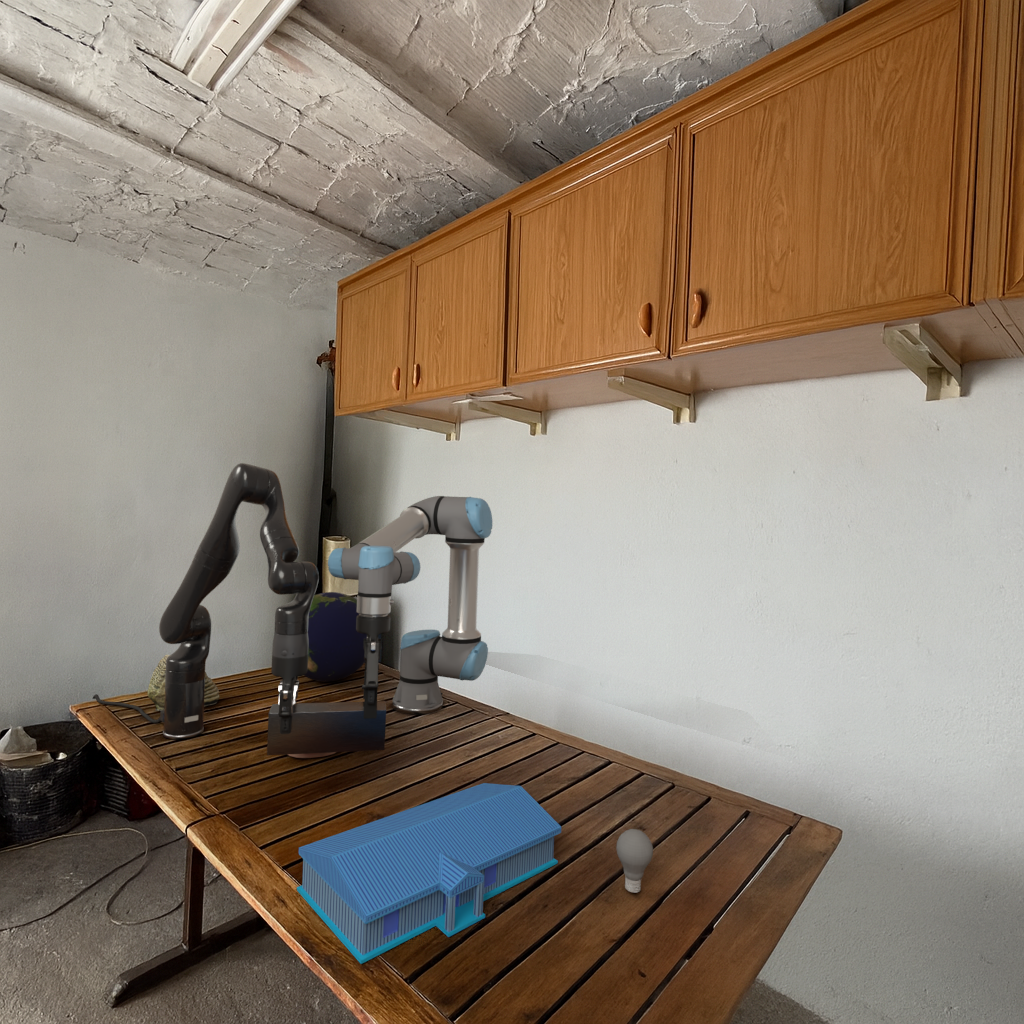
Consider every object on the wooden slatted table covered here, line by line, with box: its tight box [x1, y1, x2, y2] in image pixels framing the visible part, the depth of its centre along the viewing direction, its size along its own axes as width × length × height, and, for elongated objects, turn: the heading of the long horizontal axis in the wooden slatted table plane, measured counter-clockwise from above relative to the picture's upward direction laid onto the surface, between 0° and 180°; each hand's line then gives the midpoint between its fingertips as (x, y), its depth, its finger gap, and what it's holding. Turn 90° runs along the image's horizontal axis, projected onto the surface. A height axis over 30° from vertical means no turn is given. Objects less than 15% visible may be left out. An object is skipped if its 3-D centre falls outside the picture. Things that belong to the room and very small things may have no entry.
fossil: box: [147, 654, 221, 712], centre depth 185 cm, size 9×18×15 cm, turn 132°
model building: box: [296, 782, 562, 965], centre depth 106 cm, size 39×24×10 cm, turn 132°
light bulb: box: [615, 828, 654, 894], centre depth 106 cm, size 6×6×10 cm
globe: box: [303, 591, 367, 683], centre depth 216 cm, size 30×30×30 cm
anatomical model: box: [286, 752, 337, 759], centre depth 157 cm, size 13×4×12 cm
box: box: [266, 700, 387, 756], centre depth 142 cm, size 25×6×9 cm, turn 104°
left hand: (287, 727), depth 140 cm, fingers closed on box, 6 cm apart
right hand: (369, 708), depth 143 cm, fingers open, 13 cm apart
